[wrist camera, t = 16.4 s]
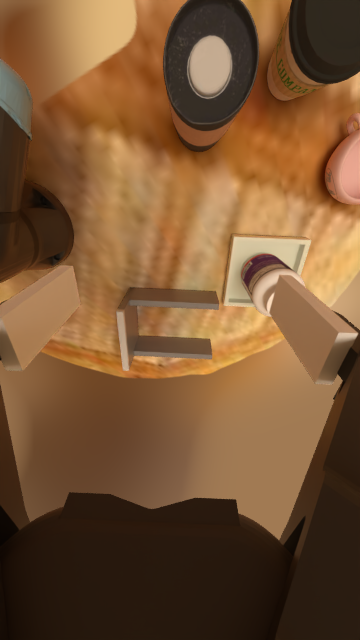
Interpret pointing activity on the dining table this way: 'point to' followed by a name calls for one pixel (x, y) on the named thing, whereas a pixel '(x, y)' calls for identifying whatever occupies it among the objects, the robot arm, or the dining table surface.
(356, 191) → the mug
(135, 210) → the dining table surface
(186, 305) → the bay
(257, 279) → the pill bottle
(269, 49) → the dining table surface
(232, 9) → the travel mug
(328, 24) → the coffee cup
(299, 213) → the dining table surface
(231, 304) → the tray
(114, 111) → the dining table surface
